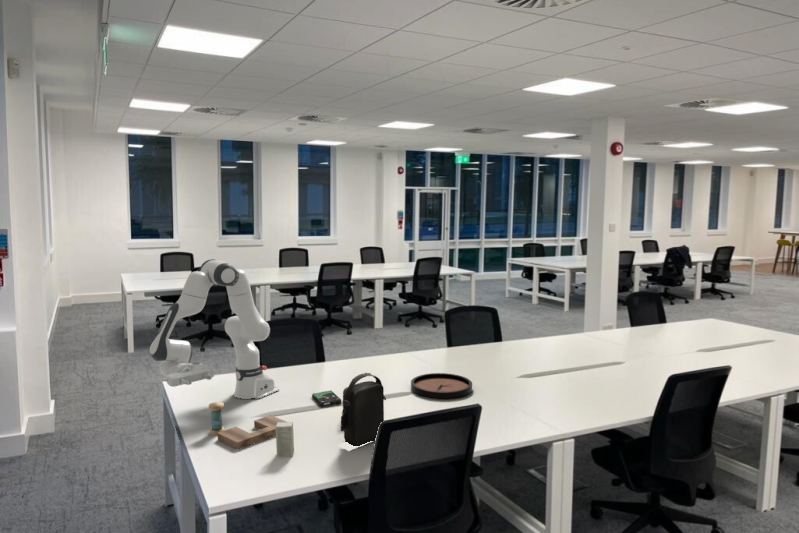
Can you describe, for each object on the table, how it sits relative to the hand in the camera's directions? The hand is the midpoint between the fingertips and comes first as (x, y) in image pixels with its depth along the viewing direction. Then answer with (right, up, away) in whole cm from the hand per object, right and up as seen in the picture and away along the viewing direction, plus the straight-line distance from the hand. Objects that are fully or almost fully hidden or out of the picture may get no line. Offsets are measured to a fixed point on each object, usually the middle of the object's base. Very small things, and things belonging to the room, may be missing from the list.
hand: (200, 380), depth 251 cm
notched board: (+25, -21, -8) cm, 34 cm away
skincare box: (+41, -24, -26) cm, 54 cm away
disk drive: (+50, -17, +33) cm, 62 cm away
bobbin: (+9, -21, -6) cm, 23 cm away
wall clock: (+107, -15, +51) cm, 119 cm away
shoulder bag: (+70, -22, -13) cm, 75 cm away
